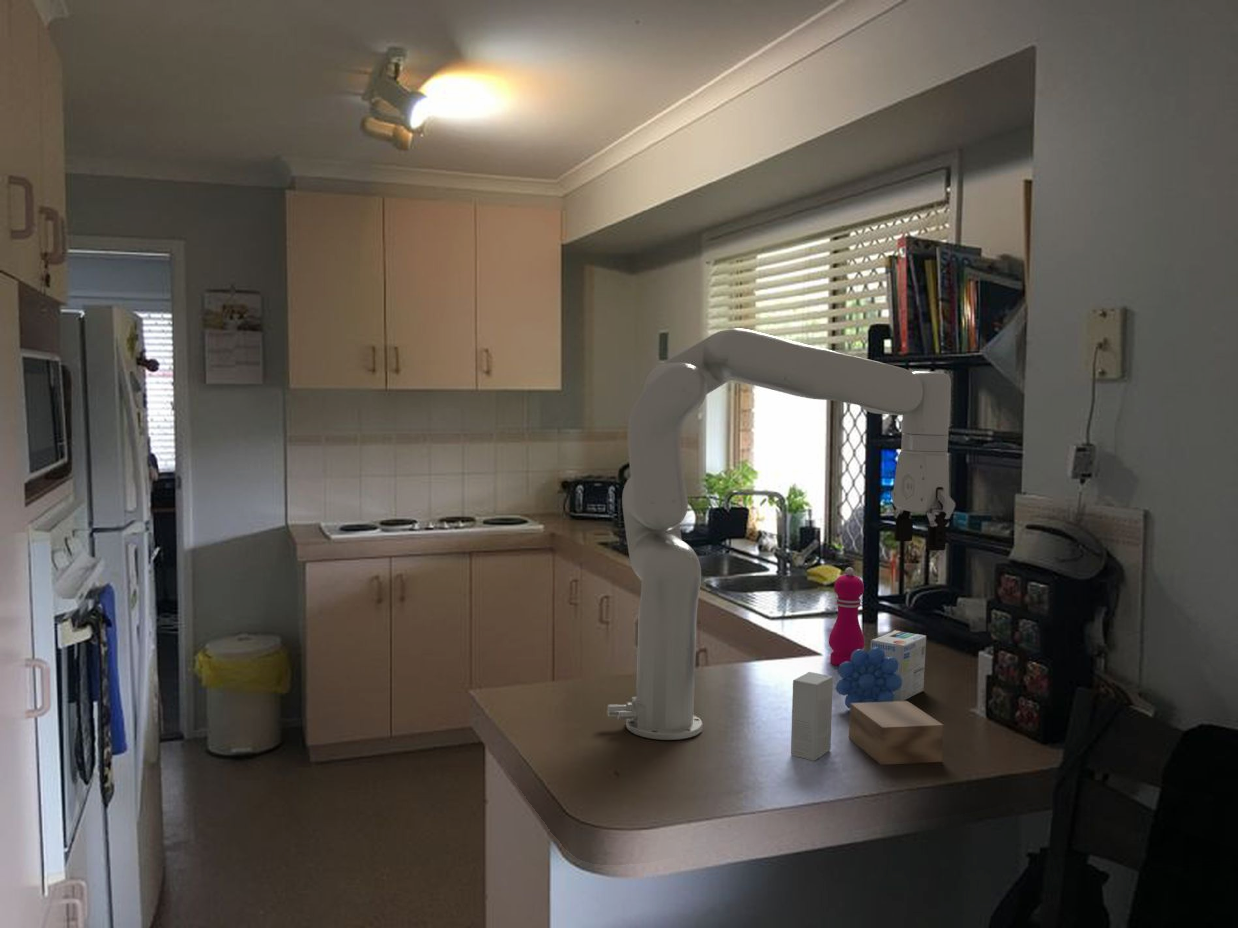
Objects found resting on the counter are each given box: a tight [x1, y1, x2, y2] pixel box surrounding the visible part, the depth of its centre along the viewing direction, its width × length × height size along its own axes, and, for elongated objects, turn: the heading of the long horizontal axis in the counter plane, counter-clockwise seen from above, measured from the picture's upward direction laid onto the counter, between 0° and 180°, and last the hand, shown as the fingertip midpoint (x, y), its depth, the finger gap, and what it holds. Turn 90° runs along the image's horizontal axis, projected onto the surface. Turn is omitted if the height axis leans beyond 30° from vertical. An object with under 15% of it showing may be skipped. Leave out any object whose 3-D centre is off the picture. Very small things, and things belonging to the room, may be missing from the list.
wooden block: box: [848, 700, 944, 766], centre depth 164 cm, size 10×12×6 cm
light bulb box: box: [869, 630, 927, 702], centre depth 194 cm, size 11×7×11 cm, turn 141°
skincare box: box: [790, 671, 834, 761], centre depth 161 cm, size 6×4×12 cm
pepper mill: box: [828, 567, 865, 667], centre depth 214 cm, size 7×7×20 cm
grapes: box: [835, 647, 902, 709], centre depth 182 cm, size 12×7×12 cm, turn 59°
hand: (919, 545), depth 176 cm, fingers open, 9 cm apart
